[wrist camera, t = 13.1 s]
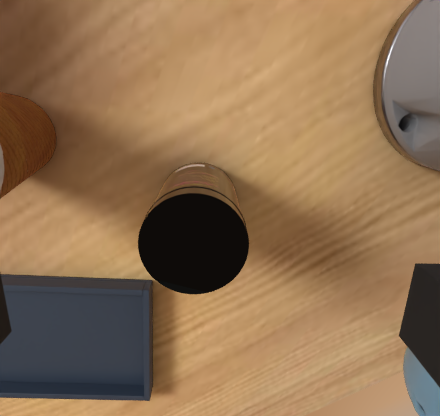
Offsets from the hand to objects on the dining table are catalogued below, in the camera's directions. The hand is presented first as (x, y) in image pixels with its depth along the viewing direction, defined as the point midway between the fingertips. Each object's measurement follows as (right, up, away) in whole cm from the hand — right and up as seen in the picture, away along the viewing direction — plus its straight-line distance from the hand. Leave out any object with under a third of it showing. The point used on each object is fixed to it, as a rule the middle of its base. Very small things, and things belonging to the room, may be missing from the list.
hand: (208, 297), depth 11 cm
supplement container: (-2, +4, +20) cm, 20 cm away
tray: (-17, -10, +23) cm, 31 cm away
